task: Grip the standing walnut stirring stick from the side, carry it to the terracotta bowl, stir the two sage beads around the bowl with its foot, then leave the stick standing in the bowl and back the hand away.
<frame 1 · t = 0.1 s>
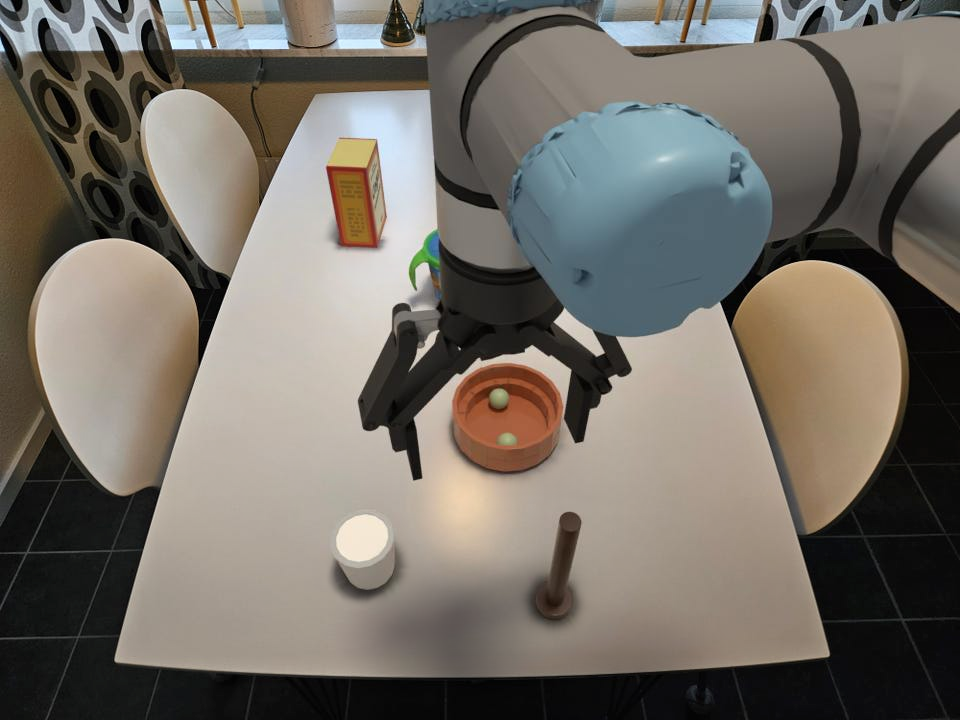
hand: (495, 447, 53), 27 cm above the table, tool pointing down, fingers open, 13 cm apart
bowl: (506, 429, 87), on the table
bead b: (507, 443, 83), point 2 cm above the table, touching bowl
bead a: (499, 398, 88), point 2 cm above the table, touching bowl
white cup: (370, 566, 74), on the table
baking soda box: (364, 231, 118), on the table
snack cup: (458, 295, 106), on the table
stick: (553, 601, 71), on the table
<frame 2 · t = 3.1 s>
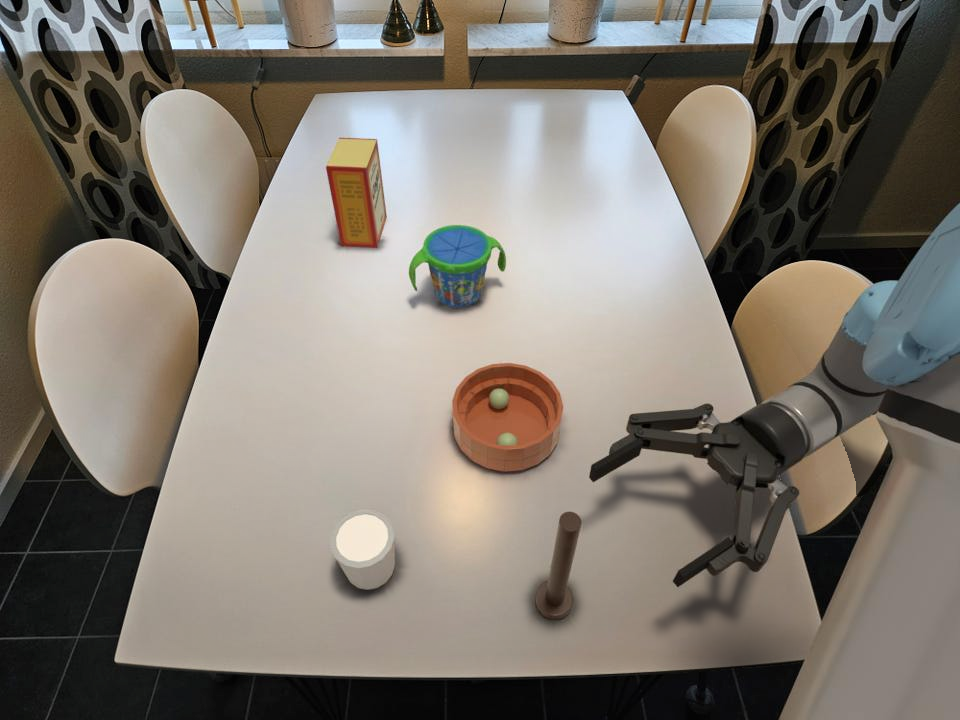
hand: (632, 523, 66), 10 cm above the table, tool horizontal, fingers open, 13 cm apart
nothing on the table moved.
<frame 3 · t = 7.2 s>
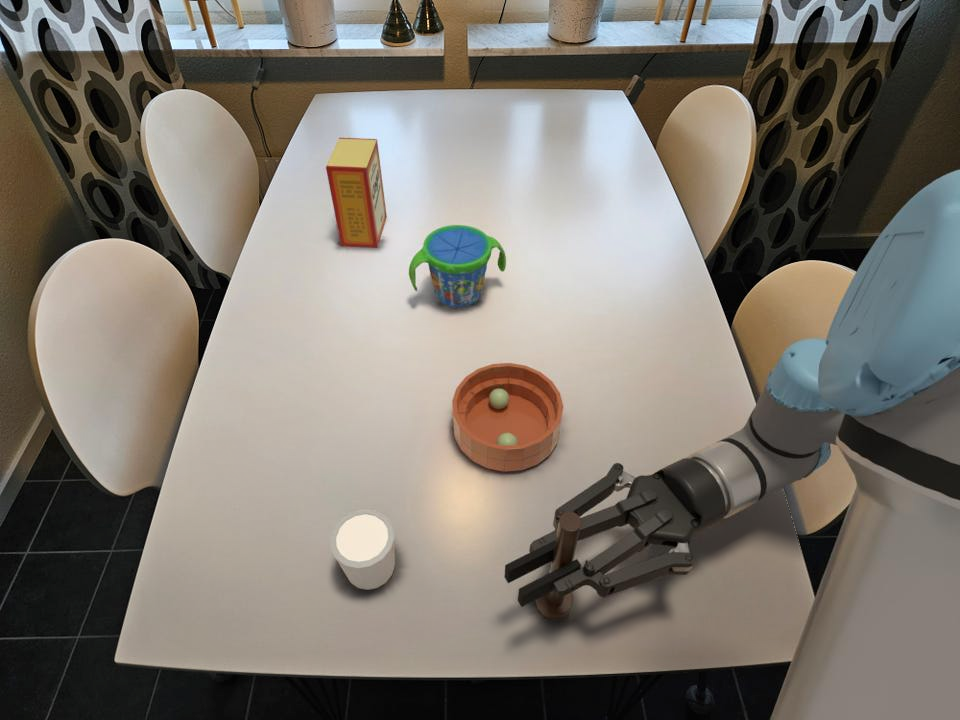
hand: (513, 585, 62), 10 cm above the table, tool horizontal, fingers closed on stick, 2 cm apart
stick: (553, 601, 71), on the table, touching gripper
everything else where it was.
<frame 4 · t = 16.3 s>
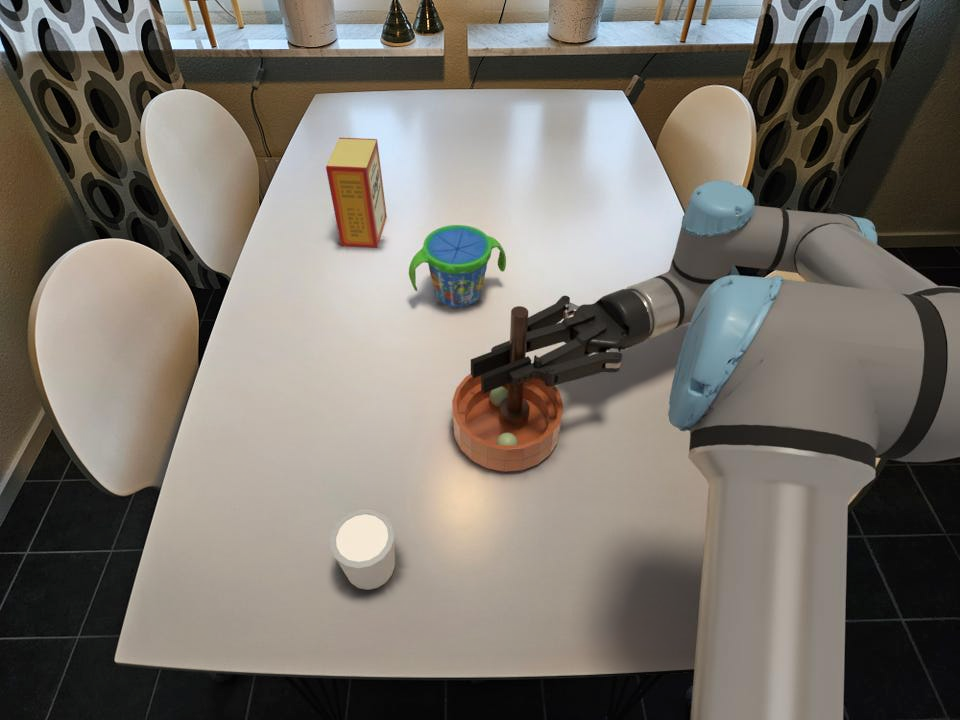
hand: (477, 376, 78), 12 cm above the table, tool horizontal, fingers closed on stick, 2 cm apart
bead a: (499, 396, 89), point 2 cm above the table, tilted 14°, touching bowl, stick
stick: (514, 413, 87), point 2 cm above the table, touching bead a, gripper
everything else where it was.
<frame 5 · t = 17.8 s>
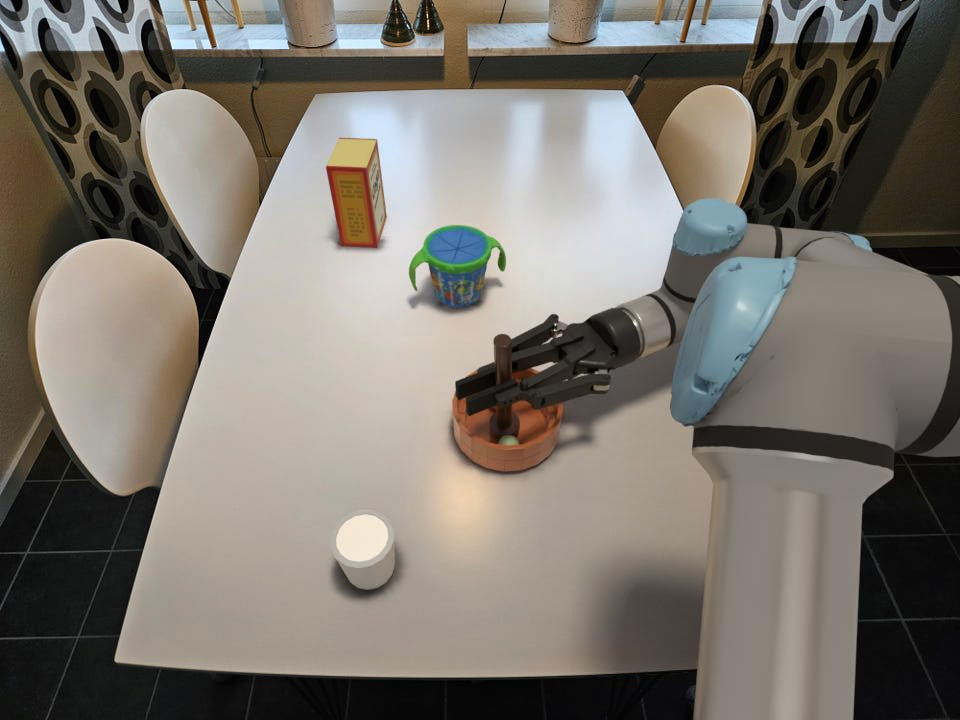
hand: (462, 398, 76), 11 cm above the table, tool horizontal, fingers closed on stick, 2 cm apart
bead b: (508, 445, 83), point 2 cm above the table, tilted 14°, touching bowl, stick
bead a: (497, 399, 88), point 2 cm above the table, touching bowl
stick: (504, 427, 86), point 1 cm above the table, tilted 5°, touching bead b, gripper
everything else where it was.
when the fingers open (11 cm above the table, at t = 19.4 s): stick stays where it is, resting on bowl.
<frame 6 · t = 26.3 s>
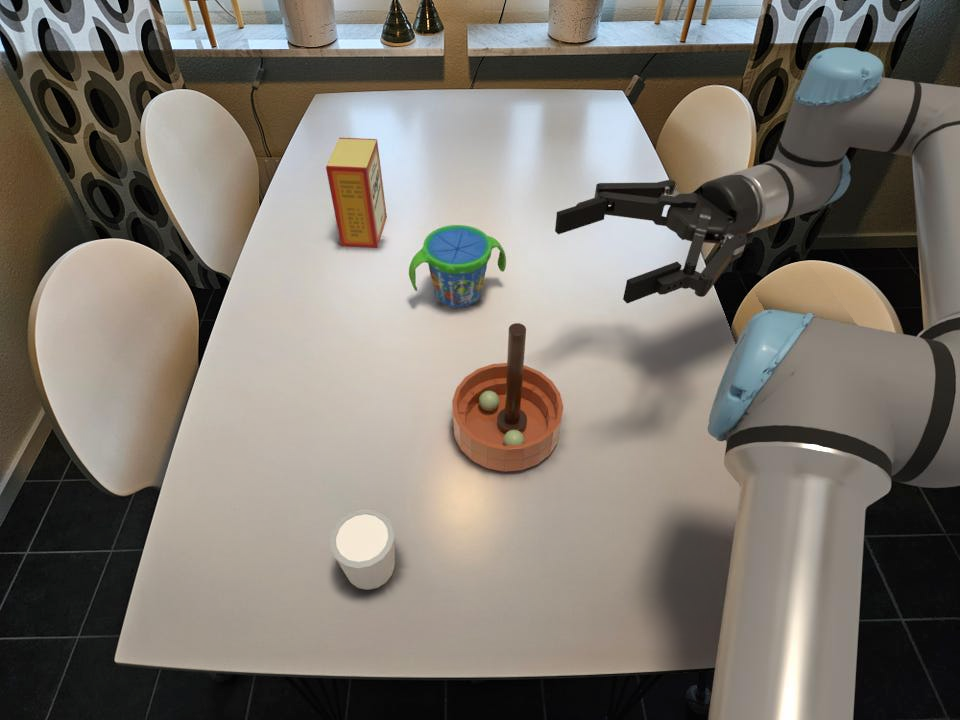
hand: (589, 255, 71), 26 cm above the table, tool horizontal, fingers open, 13 cm apart
bead b: (513, 440, 84), point 2 cm above the table, tilted 36°, touching bowl
bead a: (489, 400, 88), point 2 cm above the table, tilted 48°, touching bowl
stick: (511, 424, 87), point 1 cm above the table, touching bowl
everything else where it was.
at the end: stick inside the target area in the bowl (0.8 cm from its centre), point 0.6 cm above the bowl's base; the gripper is holding nothing; bead a moved 1.4 cm from its start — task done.
